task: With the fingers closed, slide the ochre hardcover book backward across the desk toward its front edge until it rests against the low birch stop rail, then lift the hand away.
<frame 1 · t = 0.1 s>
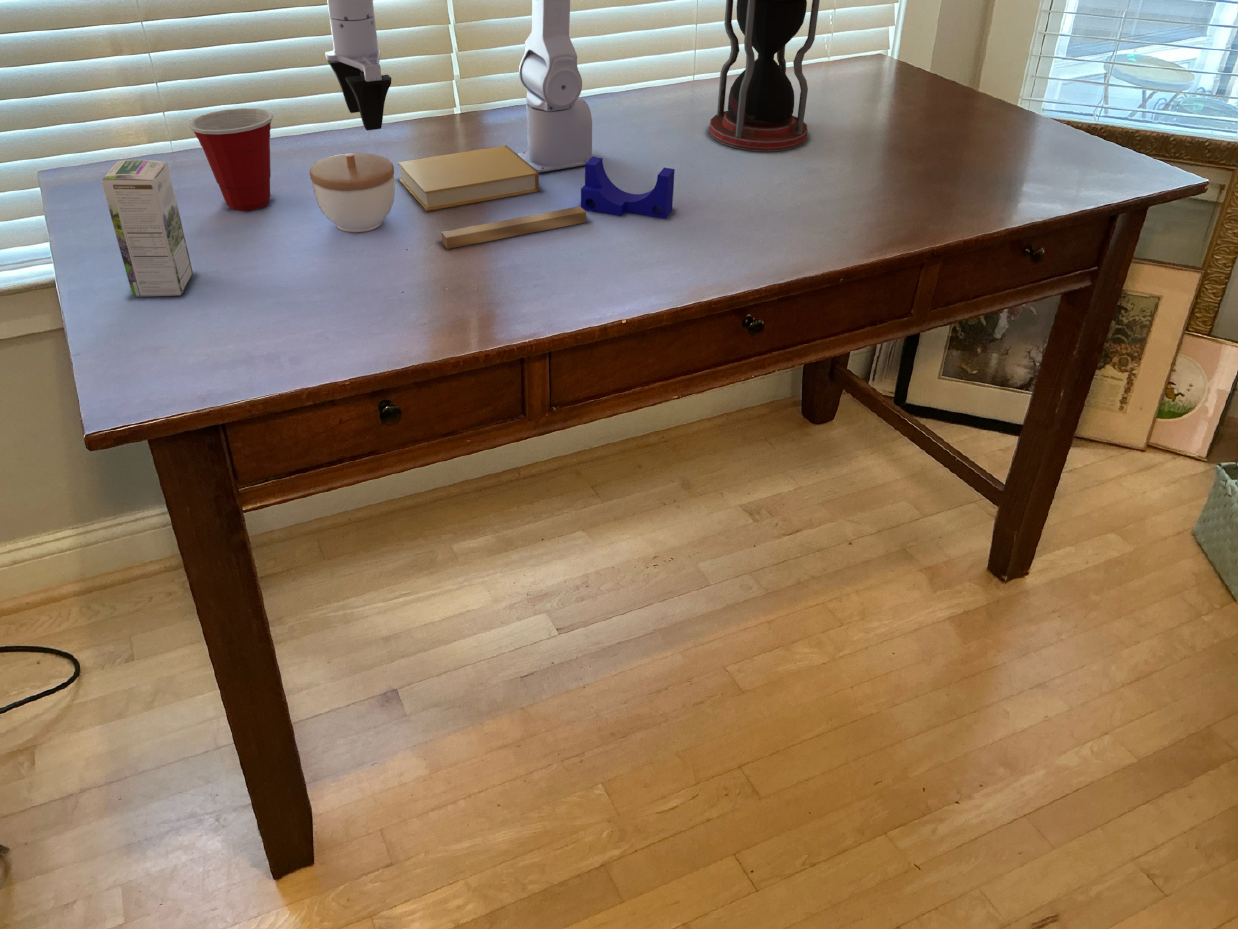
hand: (365, 119, 141), 10 cm above the table, tool pointing down, fingers open, 7 cm apart
hourglass: (757, 135, 170), on the table
stop rail: (515, 232, 137), on the table
plastic cup: (248, 203, 143), on the table
trinket box: (359, 224, 138), on the table
blue cradle bracket: (626, 211, 144), on the table
book: (469, 185, 149), on the table
syrup box: (165, 287, 123), on the table
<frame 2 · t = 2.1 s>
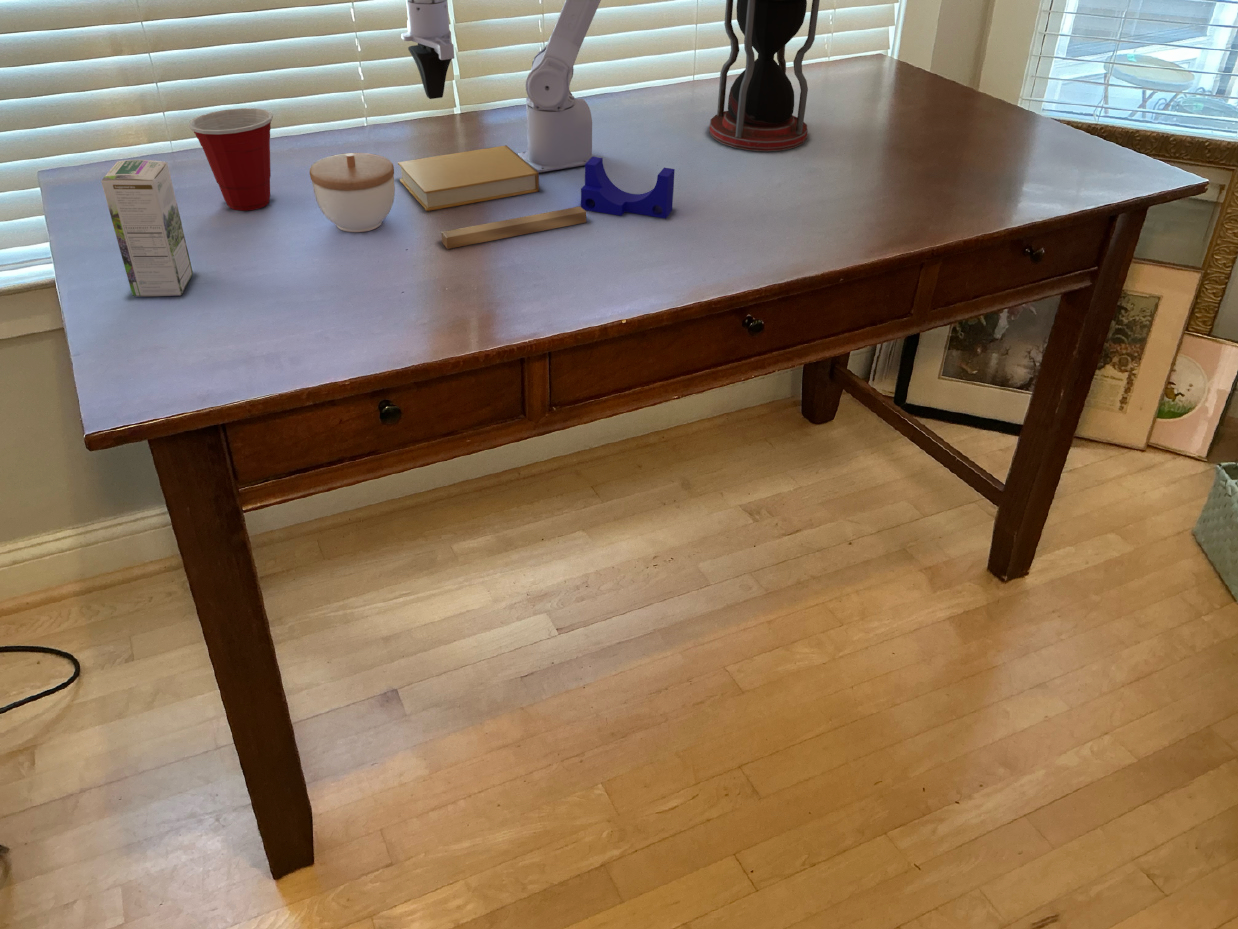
hand: (434, 96, 153), 9 cm above the table, tool pointing down, fingers closed
nothing on the table moved.
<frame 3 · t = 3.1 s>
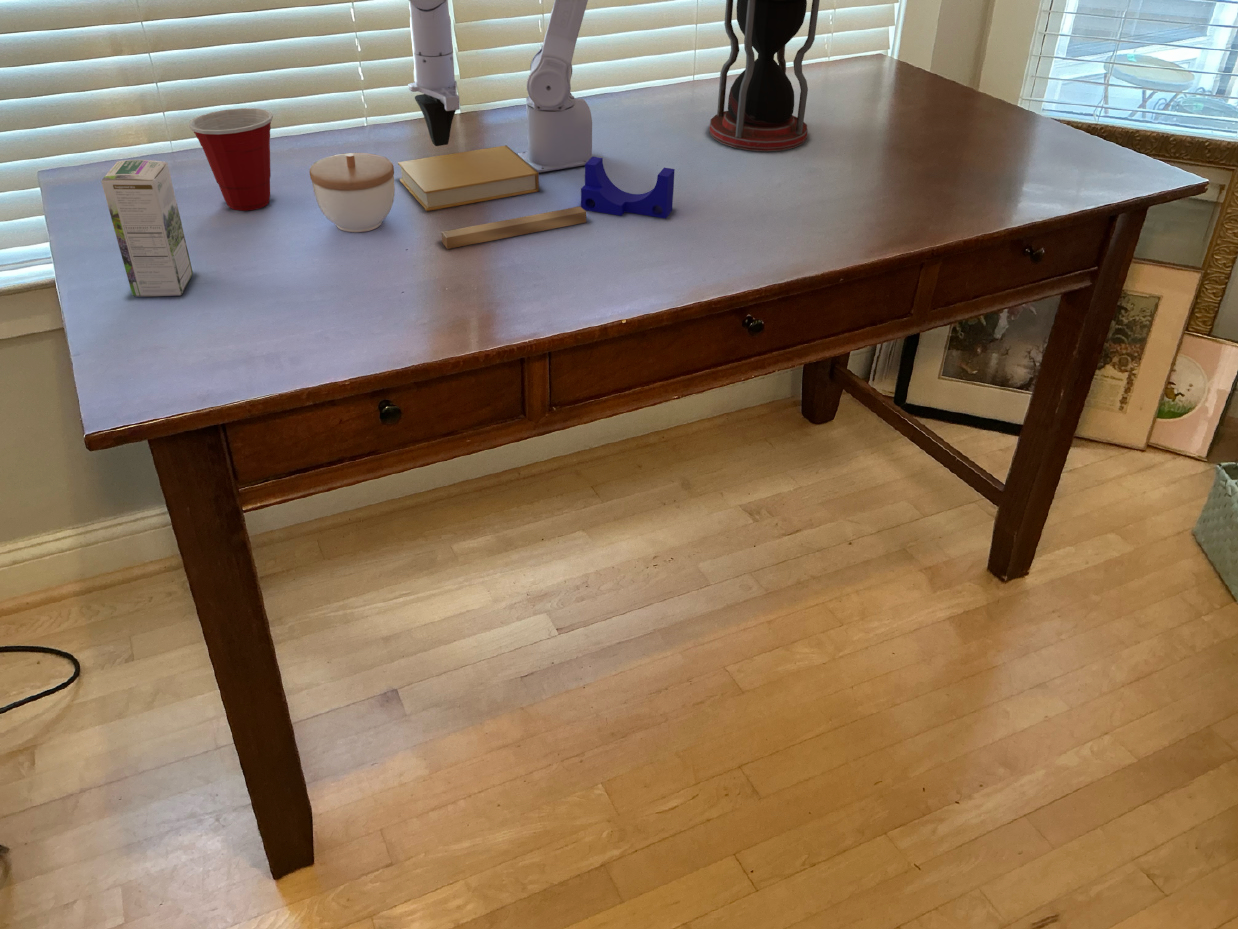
hand: (440, 143, 156), 2 cm above the table, tool pointing down, fingers closed
nothing on the table moved.
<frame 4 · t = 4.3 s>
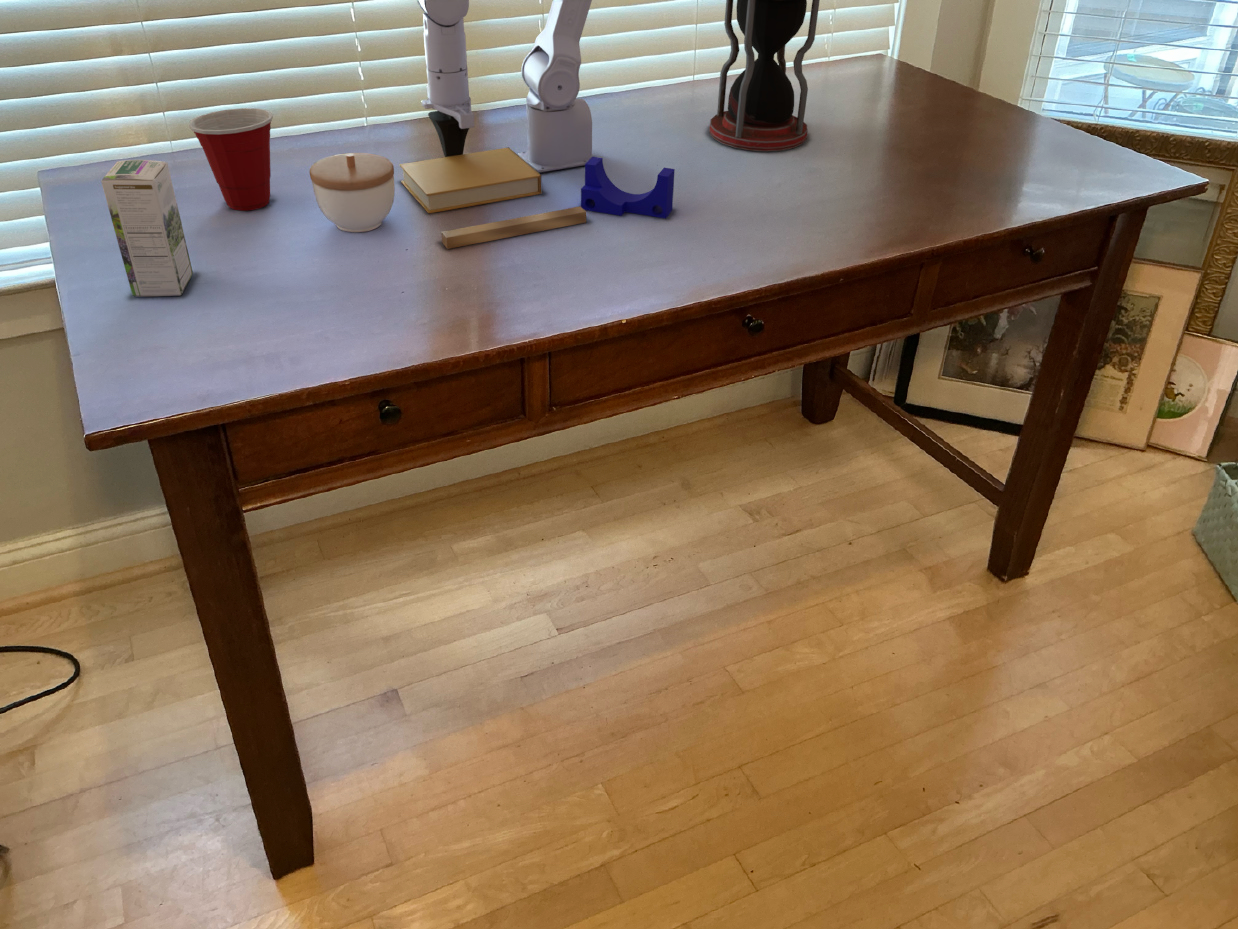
hand: (454, 161, 153), 2 cm above the table, tool pointing down, fingers closed
book: (471, 188, 149), on the table, touching gripper
everything else where it was.
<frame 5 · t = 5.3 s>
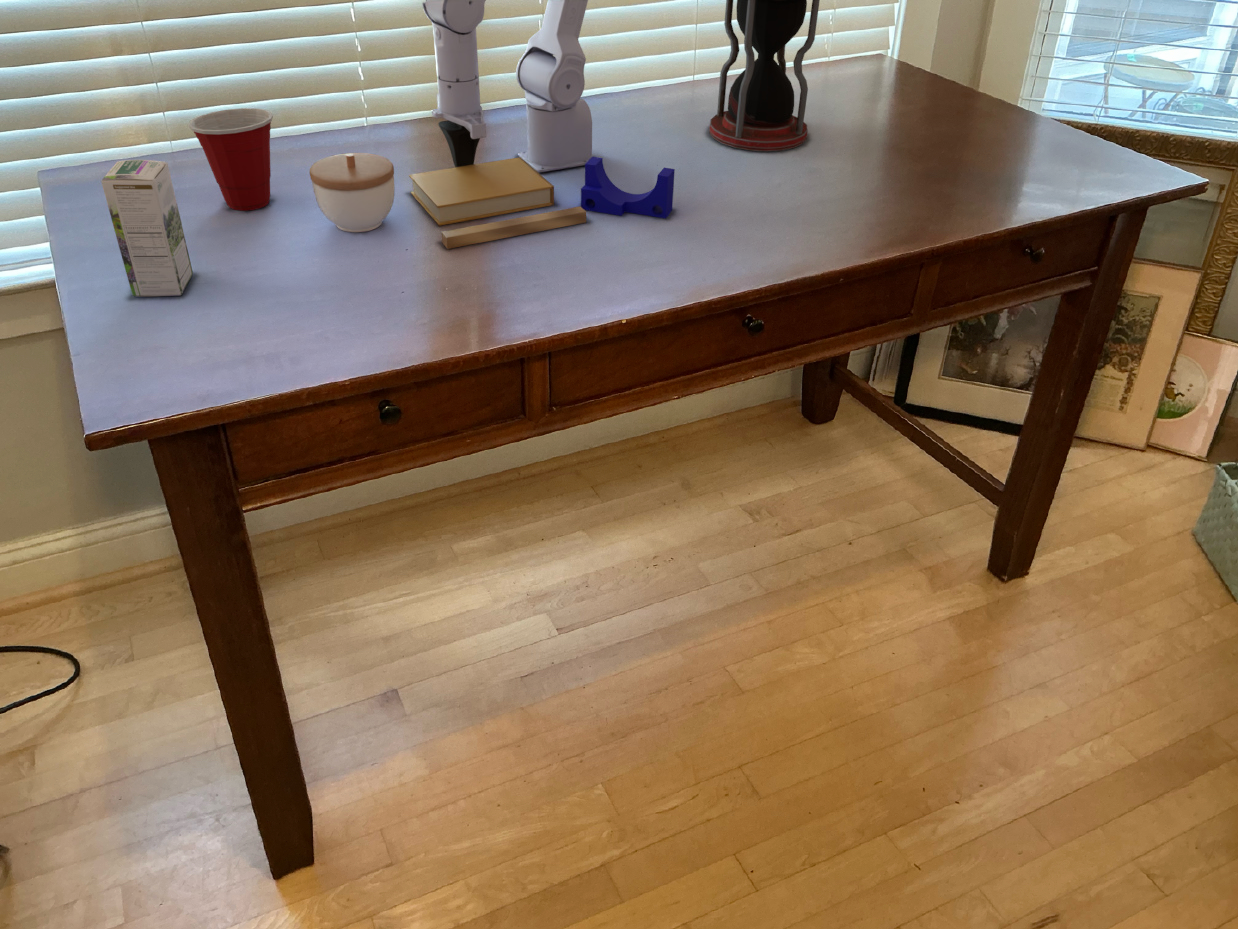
hand: (464, 171, 149), 2 cm above the table, tool pointing down, fingers closed
book: (482, 199, 146), on the table, touching gripper
everything else where it was.
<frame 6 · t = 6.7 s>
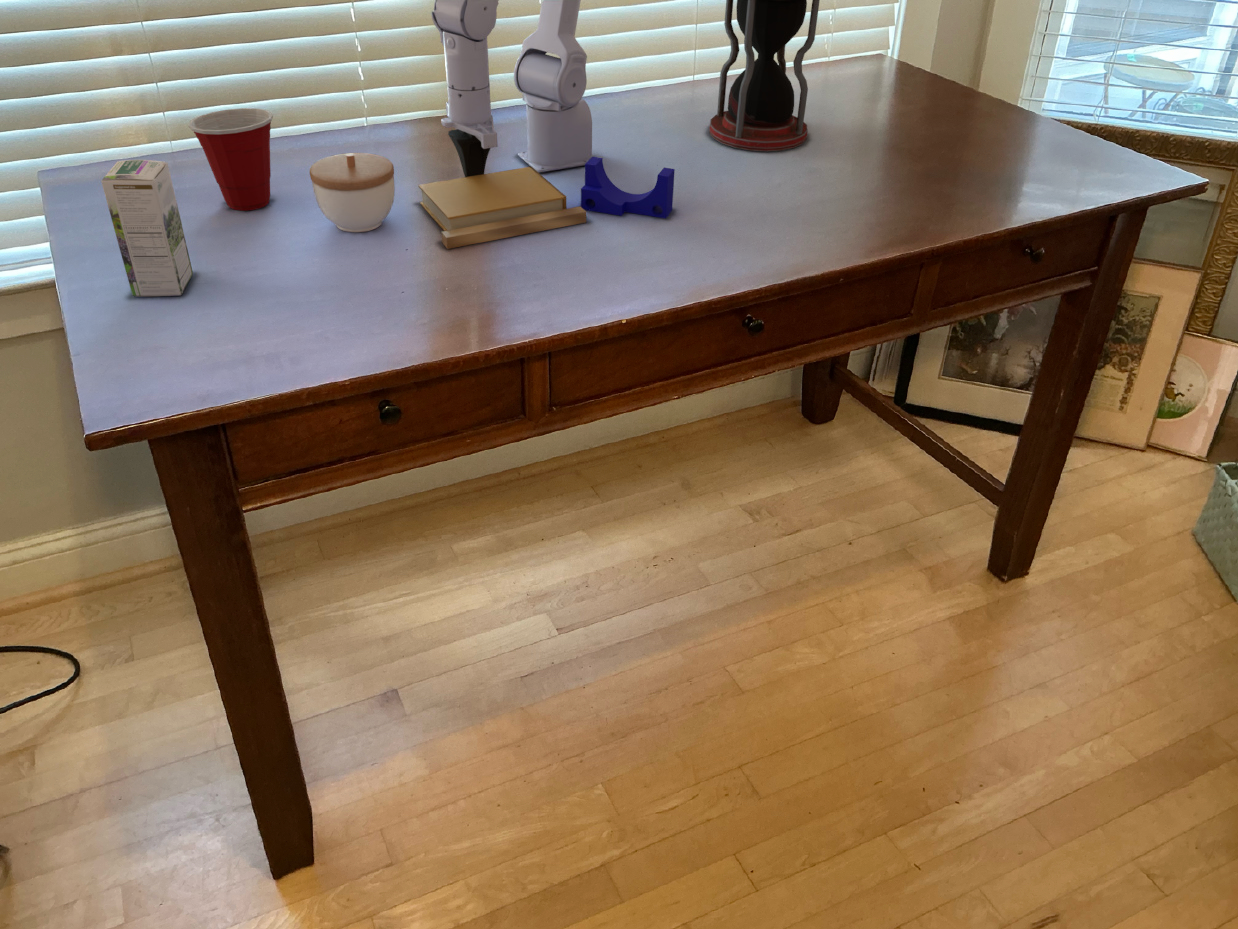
hand: (474, 181, 147), 2 cm above the table, tool pointing down, fingers closed
book: (492, 209, 143), on the table, touching gripper
everything else where it was.
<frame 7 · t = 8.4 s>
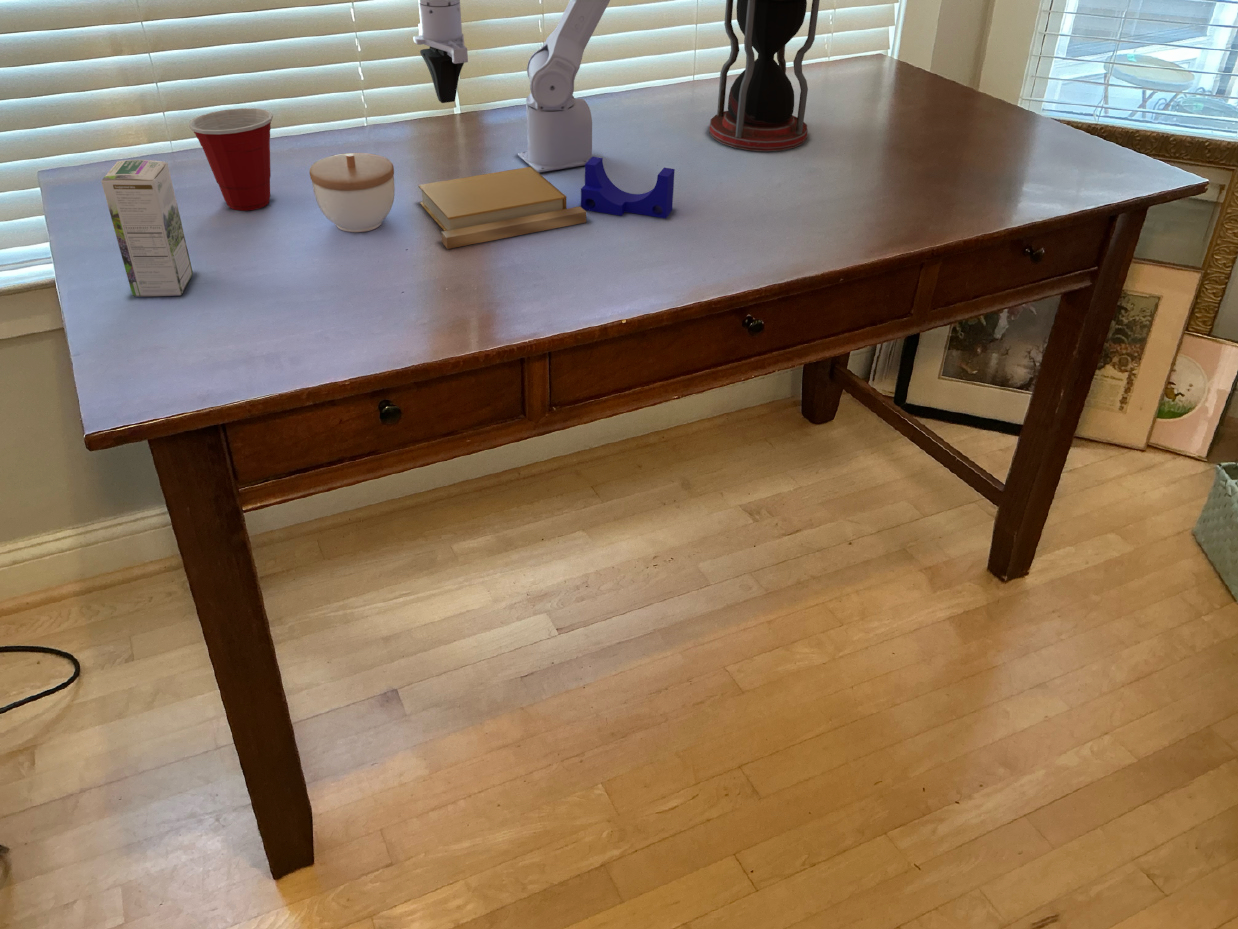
hand: (446, 100, 150), 9 cm above the table, tool pointing down, fingers closed
book: (492, 209, 143), on the table
everything else where it was.
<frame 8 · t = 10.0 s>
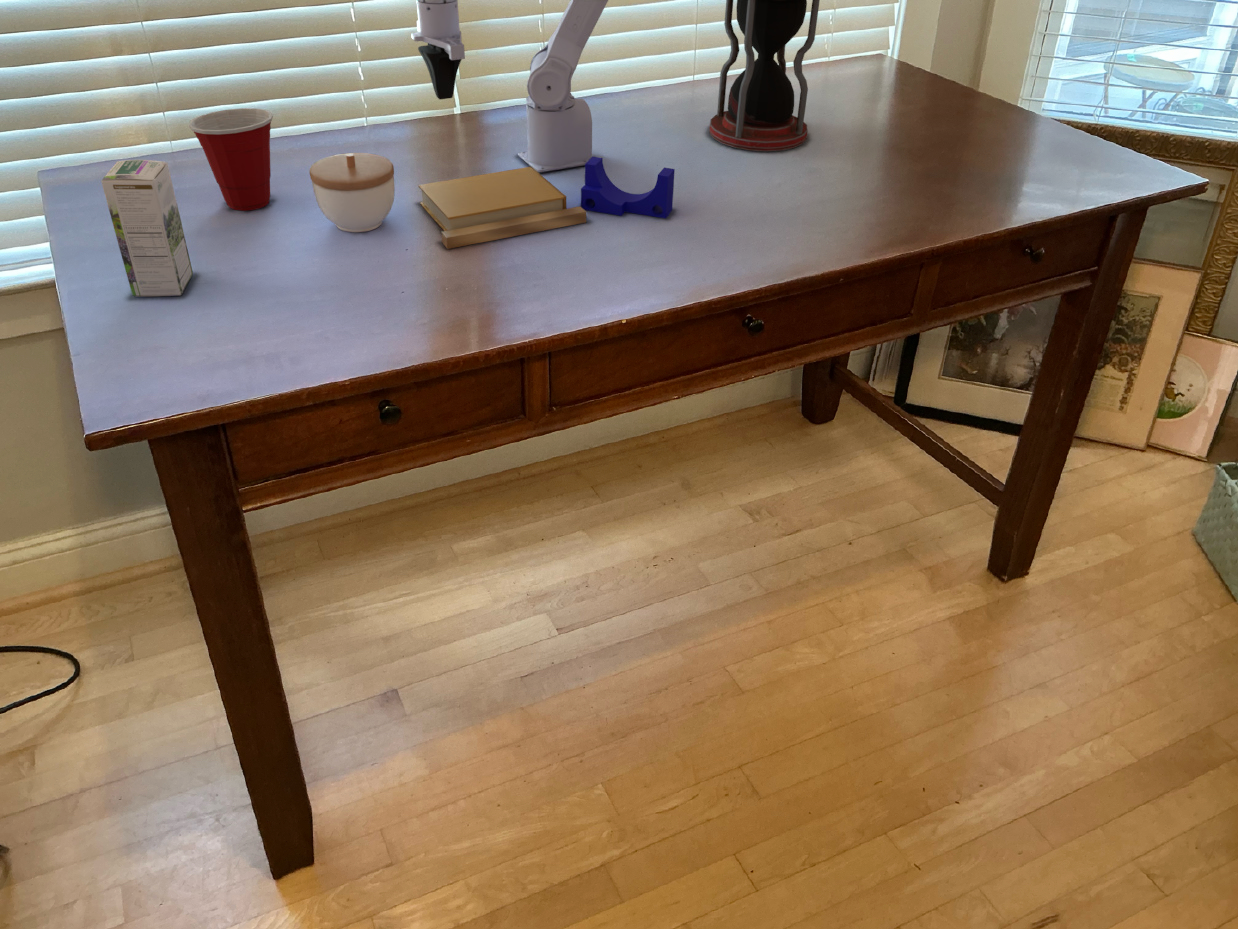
hand: (444, 97, 152), 9 cm above the table, tool pointing down, fingers closed
nothing on the table moved.
at the end: book inside the target area (0.1 cm from its centre), on the table; book tilted 0°; book moved 9.4 cm from its start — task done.
